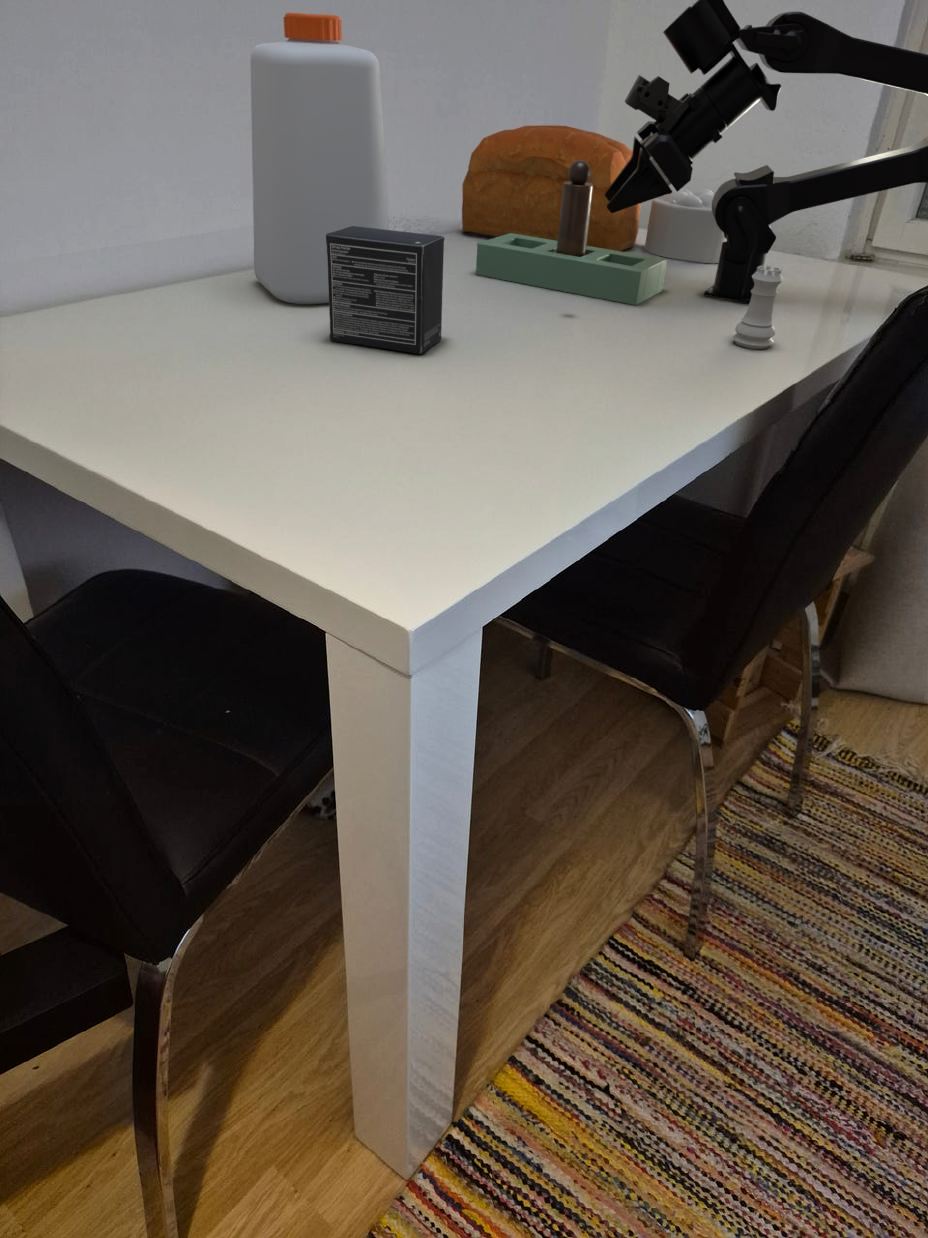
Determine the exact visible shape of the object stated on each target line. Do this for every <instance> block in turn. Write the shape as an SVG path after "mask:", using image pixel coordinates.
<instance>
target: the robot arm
mask: <svg viewBox="0 0 928 1238" xmlns="http://www.w3.org/2000/svg"><path fill="white" fill-rule="evenodd" d="M662 34H664V36H665V38H666V39H667V41H668V42H669V44H670V45H671V46H672V49H673V50H674V51H675V52H676V55H677V56H678V57H679V58H680V60H681V61H682V63H683V65H684V66H685V68H686V69H687V70H688V72H689V74H690V75H692V74H693V73H695V72H696V71H697V70H699V71H700V72H701V74H702V75H703V76H705V75H707V74H708V73H709V72H710V71H712V70H713V69H714V68H715V67H716V66H717V65H718V64H719V63H721V61H722V60H723V59H725V58H726V57H727V55H729V54H730V56H731V58H729V60H728V61H727V62H725V63H724V64H723V65H722V66H721V67H720V68H719V69H718V70H716V71H715V73H713V74H712V75H711V76H710V77H709V78H708V79H707V80H706V81H705V82H704V83H703V84H701V85H700V86H699V87H698V88H697V89H696V90H695V91H694V92H693V93H691V92H689V93H687V92H686V93H685V94H684V95H683V96H681V97H680V98H679V99H678V98H676V97H675V96H673V95H671V94H669V92H670V82H668V81H666V80H665V79H664V78H662V77H660V76H659V75H657V76H656V77H654V78H653V79H651V80H650V81H649V80H648V79H647V78H645V77H643V76H642V75H640V74H638V76H637V78H636V80H635V81H634V83H633V85H632V86H631V88H630V90H629V93H628V94H627V96H626V98H625V100H624V103H625V104H626V105H627V106H629V107H630V108H631V109H633V110H635V111H637V110H638V111H640V112H642V113H643V114H645V115H646V116H647V117H650V118H651V119H652V120H654V121H649V120H648V121H647V122H645V124H643V126H642V127H640V128H639V129H638V130H637V131H636V134H637V135H638V136H639V138H640V140H639V139H638V138H637V136H634V137H633V144H632V157H631V158H630V160H629V161H628V163H627V164H626V165H625V167H624V168H623V169H622V171H621V172H620V174H619V175H618V176H617V178H616V179H615V180H614V182H613V183H612V184H611V186H610V187H609V189H608V190H607V191H606V193H605V197H606V198H607V199H608V200H609V201H610V202H609V203H608V205H607V209H608V210H609V211H610V212H611V213H615V212H618V211H620V210H623V209H626V208H629V207H631V206H634V205H637V204H640V203H641V204H643V203H645V202H648V201H652V200H653V199H654V198H657V197H660V196H663V195H666V194H671V193H673V191H674V190H676V191H677V192H678V191H679V190H680V189H681V188H682V189H683V188H684V187H685V186H686V185H687V184H689V183H690V182H691V180H692V175H693V169H694V167H693V166H692V165H693V164H694V162H693V160H694V159H695V158H696V157H697V156H698V155H700V154H701V153H702V152H703V151H704V150H705V149H706V148H707V147H709V146H710V145H711V144H712V143H714V144H717V142H719V141H720V140H721V139H723V135H722V134H723V133H725V131H727V130H728V129H729V128H730V127H731V126H732V125H734V124H735V123H736V122H737V120H739V119H740V118H741V117H742V116H743V115H745V114H746V113H747V112H748V111H749V110H750V109H751V108H753V107H754V106H755V105H756V104H757V103H759V101H760V102H761V104H762V106H763V107H764V108H765V110H768V111H770V112H774V111H775V110H776V109H777V103H778V97H779V93H780V91H781V89H782V84H781V83H771V82H770V80H769V78H768V77H767V76H766V74H765V73H764V71H763V69H762V68H761V66H760V65H759V63H758V62H755V63H753V64H751V65H750V66H749V65H748V64H747V62H746V61H745V59H744V58H743V56H742V55H741V53H740V52H739V50H738V49H737V47H736V45H735V44H734V42H736V43H737V45H738V46H739V47H740V49H741V50H743V51H747V52H749V53H753V54H757V55H758V56H759V59H760V61H761V63H762V65H763V66H765V68H766V69H769V70H771V71H774V72H777V73H781V74H809V75H810V74H811V75H813V74H822V75H823V74H824V75H825V74H826V75H827V74H829V75H831V74H834V75H842V76H846V77H851V78H855V79H859V80H864V81H868V82H872V83H876V84H880V85H885V86H889V87H892V88H893V87H894V88H897V89H903V90H906V91H911V92H915V93H919V94H924V95H926V96H927V97H928V54H927V53H923V52H917V51H914V50H909V49H905V48H901V47H898V46H897V47H896V46H893V45H889V44H883V43H879V42H875V41H871V40H867V39H863V38H862V39H861V38H859V37H853V36H851V35H849V34H847V33H845V32H844V31H843V32H842V31H841V30H839V29H837V28H836V27H834V26H832V25H830V24H827V23H826V22H824V21H822V20H820V19H818V18H816V17H813V16H811V15H809V14H807V13H805V12H803V11H786V12H781V13H779V14H777V15H775V16H774V17H772V18H771V19H770V20H769V21H768V22H767V23H766V24H765V25H764V26H755V27H754V26H753V25H752V24H746V25H745V26H744V27H743V28H741V26H740V25H739V23H738V22H737V20H736V19H735V17H734V16H733V14H732V12H731V11H730V9H729V8H728V6H727V4H726V3H725V0H696V1H695V2H694V3H693V4H692V5H690V6H689V5H688V6H687V7H686V8H685V9H684V10H683V11H682V12H681V13H680V14H679V15H678V16H677V17H676V18H675V19H674V20H673V21H672V22H671V23H670V24H669V25H668V26H667V27H666V28H665V29H664V30H663V31H662ZM733 176H734V178H732V179H729V180H727V181H724V182H723V183H722V184H720V186H718V188H717V190H716V191H715V192H714V193H715V194H714V197H713V200H712V213H713V216H714V219H715V221H716V223H717V225H718V227H719V228H720V230H721V231H723V232H724V237H725V238H726V240H727V241H725V242H723V243H722V248H721V253H720V258H719V263H717V269H716V274H715V278H714V284H713V285H712V286H710V287H709V288H707V289H706V290H704V293H703V295H704V296H708V297H711V298H712V297H713V298H718V299H723V300H729V301H735V302H741V303H745V304H749V303H750V300H751V296H752V293H751V290H752V289H753V288H754V281H753V278H752V275H753V274H754V273H755V272H756V271H757V267H759V266H764V267H765V263H766V260H767V254H769V252H770V250H771V249H772V246H773V245H774V243H775V242H776V240H777V235H776V234H775V233H774V231H773V230H772V228H771V226H770V225H772V224H773V223H775V222H777V221H780V220H781V219H782V218H784V217H786V216H788V215H790V214H792V213H795V212H798V211H802V210H806V209H811V208H815V207H819V206H824V205H829V204H832V203H836V202H840V201H844V200H850V199H853V198H857V197H862V196H865V195H870V194H873V193H874V194H875V193H878V192H879V193H880V192H883V191H887V190H891V189H896V188H901V187H905V186H908V185H912V184H928V136H926V137H924V138H923V139H921V140H919V141H917V142H915V143H914V144H911V145H909V146H907V147H903V148H899V149H895V150H890V151H887V152H882V153H878V154H874V155H870V156H867V157H862V158H858V159H855V160H850V161H846V162H841V163H838V164H834V165H831V166H830V165H829V166H826V167H822V168H818V169H814V170H810V171H806V172H802V173H798V174H794V175H790V176H775V171H774V170H773V169H772V168H771V167H770V166H769V165H768V164H766V165H763V166H760V167H758V168H756V169H753V170H752V171H748V172H734V173H733ZM671 185H672V187H673V188H674V190H673V189H672V188H671V187H670V186H671Z"/></svg>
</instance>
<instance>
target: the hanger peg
mask: <svg viewBox="0 0 928 1238" xmlns="http://www.w3.org/2000/svg"><path fill="white" fill-rule="evenodd" d="M590 175H591V169H590V166H589V165H588V163H587V162H585V161H583V160H578V161H575V162H574V163H572V165H571V166H570V168H569V171H568V176H569V179H570V181H567V182H564V183H563V190H562V200H561V210H560V220H559V230H558V240H557V250H556V253H559V254H565V255H571V256H577V257H582V256H585V252H586V244H587V235H588V227H589V218H590V210H591V201H592V193H593V184H591V183H588V182H587V181H588V180H589V178H590Z"/></svg>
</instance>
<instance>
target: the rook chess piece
mask: <svg viewBox="0 0 928 1238" xmlns="http://www.w3.org/2000/svg"><path fill="white" fill-rule="evenodd" d="M764 268H765V269H764ZM771 269H772V266H771V265H766V267H765V265H764V266H759V267H757V271H756V272H755V273H754V274H753V275H752V278H753V281H754V288H753V289H752V290H751V293H752V296H751V300H750V303H748V306H747V309H746V312H745V314H744V316H743V317H742V318H741V321H740V322H739V323H738V324H736V325H735V328H734V331H735V332H736V334H734V335H732V339H733V341H734V344H736V345H737V346H739V347H742V348H746V349H750V350H751V349H752V350H766V349H768V348H770V347H771V346H772V345H773V344H774V340H773V337H774V336H776V330H775V327H774V322H773V309H774V303H775V299H776V297H777V296H778V292H777V287H778V286H779V285H780V284H781V283H782V282H783V281H784V278H783V276H782V271H783V269H782V268H780V267H778V266H774V267H773V270H771Z"/></svg>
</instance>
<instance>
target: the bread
mask: <svg viewBox="0 0 928 1238" xmlns="http://www.w3.org/2000/svg"><path fill="white" fill-rule="evenodd" d="M632 152H633V150H632V149H630V148H629V147H628V146H627V145H626V144H625V143H623V142H620V141H617V140H616V139H613V138H611V137H608V136H605V135H603V134H600V133H597V132H594V131H588V130H584V129H580V128H576V127H571V126H568V125H555V124H554V125H553V124H552V125H551V124H550V125H548V124H547V125H523V126H520V127H517V128H513V129H503V130H500V131H497V132H495V133H492V134H490V135H487V136H485V137H483V138H482V140H481V141H480V142H479V144H477V146H476V147H475V149H474V150H473V151H472V152H471V155H470V158H469V162H468V167H467V172H466V174H465V177H464V179H463V182H462V184H461V185H462V187H461V188H462V189H461V190H462V204H461V226H462V227H461V228H462V231H463V232H465V233H466V232H467V233H470V234H471V233H472V234H475V235H477V234H478V235H483V236H490V237H494V238H496V237H499V236H503V235H506V234H509V233H513V234H519V235H525V236H531V237H537V238H543V239H549V240H555V241H557V240H558V230H559V220H560V210H561V200H562V190H563V183H564V182H567V181H570V179H569V176H568V171H569V168H570V166H571V165H572V163H574V162H575V161H578V160H583V161H585V162H587V163H588V165H589V166H590V169H591V175H590V178H589V180H588V181H587V182H588V183H591V184H593V193H592V201H591V210H590V218H589V227H588V235H587V244H586V246H591V247H597V248H603V249H609V250H615V251H621V252H624V251H626V250H628V249H629V248H631V247H634V246H635V245H636V241H637V237H638V234H639V226H640V214H641V206H642V203H640V204H637V205H634V206H631V207H629V208H626V209H623V210H620V211H618V212H615V213H611V212H610V211H609V210H608V209H607V205H608V203H609V202H610V201H609V200H608V199H607V198H606V197H605V193H606V191H607V190H608V189H609V187H610V186H611V184H612V183H613V182H614V180H615V179H616V178H617V176H618V175H619V174H620V172H621V171H622V169H623V168H624V167H625V165H626V164H627V163H628V161H629V160H630V158H631V157H632Z"/></svg>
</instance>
